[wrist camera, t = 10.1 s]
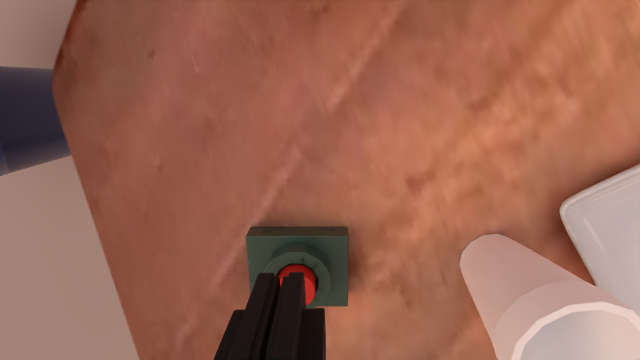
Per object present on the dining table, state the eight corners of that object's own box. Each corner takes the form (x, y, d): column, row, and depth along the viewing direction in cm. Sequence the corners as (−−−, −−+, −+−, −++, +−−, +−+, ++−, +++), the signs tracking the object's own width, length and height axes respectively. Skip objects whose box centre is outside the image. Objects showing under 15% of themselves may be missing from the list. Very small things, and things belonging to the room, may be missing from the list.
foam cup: (430, 285, 36) (485, 394, 23) (466, 209, 33) (550, 285, 21) (511, 308, 36) (606, 426, 24) (552, 235, 34) (683, 325, 21)
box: (255, 293, 37) (247, 318, 33) (250, 226, 34) (240, 245, 30) (346, 293, 36) (348, 318, 32) (347, 226, 34) (349, 244, 30)
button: (279, 296, 32) (276, 308, 31) (277, 264, 31) (274, 274, 30) (315, 296, 32) (315, 308, 31) (315, 264, 31) (314, 274, 30)
